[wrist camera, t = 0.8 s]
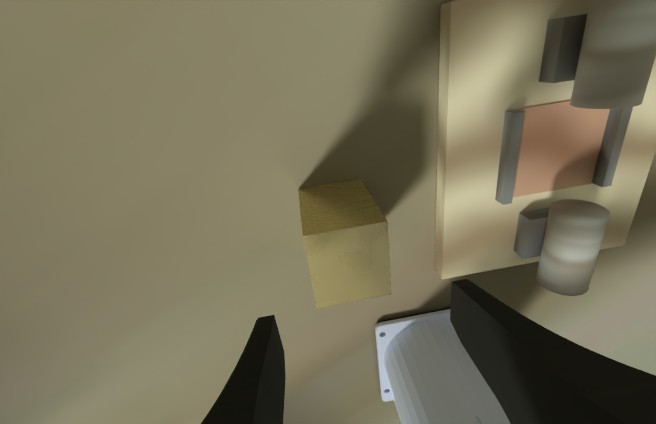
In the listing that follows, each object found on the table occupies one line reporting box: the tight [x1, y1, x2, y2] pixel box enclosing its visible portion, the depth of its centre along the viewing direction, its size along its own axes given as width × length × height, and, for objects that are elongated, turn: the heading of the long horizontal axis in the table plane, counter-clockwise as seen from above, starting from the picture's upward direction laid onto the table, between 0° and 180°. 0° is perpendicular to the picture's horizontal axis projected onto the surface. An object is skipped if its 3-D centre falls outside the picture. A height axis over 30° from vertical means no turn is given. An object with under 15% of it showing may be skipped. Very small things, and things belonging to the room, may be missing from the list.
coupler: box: [298, 179, 391, 308], centre depth 19 cm, size 4×4×6 cm
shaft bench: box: [435, 0, 656, 296], centre depth 19 cm, size 17×14×5 cm
